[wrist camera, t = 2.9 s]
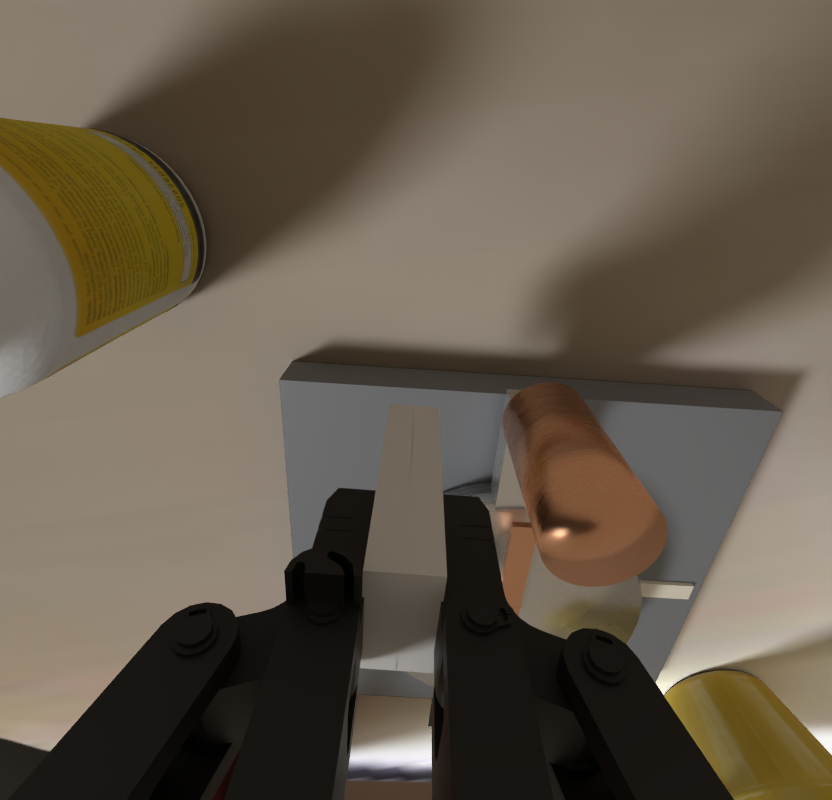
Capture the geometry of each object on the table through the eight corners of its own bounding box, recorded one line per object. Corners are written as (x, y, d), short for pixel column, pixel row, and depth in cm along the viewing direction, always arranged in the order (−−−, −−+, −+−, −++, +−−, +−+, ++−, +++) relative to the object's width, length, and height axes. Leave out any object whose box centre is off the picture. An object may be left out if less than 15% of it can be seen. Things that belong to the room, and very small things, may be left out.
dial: (591, 666, 25) (655, 856, 18) (372, 654, 25) (352, 840, 18) (698, 372, 17) (882, 507, 10) (381, 352, 17) (351, 475, 10)
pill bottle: (136, 93, 16) (-439, -61, 5) (247, 269, 18) (7, 400, 8) (0, 186, 17) (-672, 207, 7) (120, 337, 20) (-226, 525, 9)
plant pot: (759, 749, 32) (883, 964, 24) (612, 741, 32) (683, 954, 23) (827, 653, 28) (1012, 876, 19) (656, 643, 28) (764, 863, 19)
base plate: (311, 658, 29) (302, 695, 27) (292, 361, 20) (277, 382, 18) (628, 677, 29) (643, 714, 27) (751, 390, 20) (786, 414, 18)
